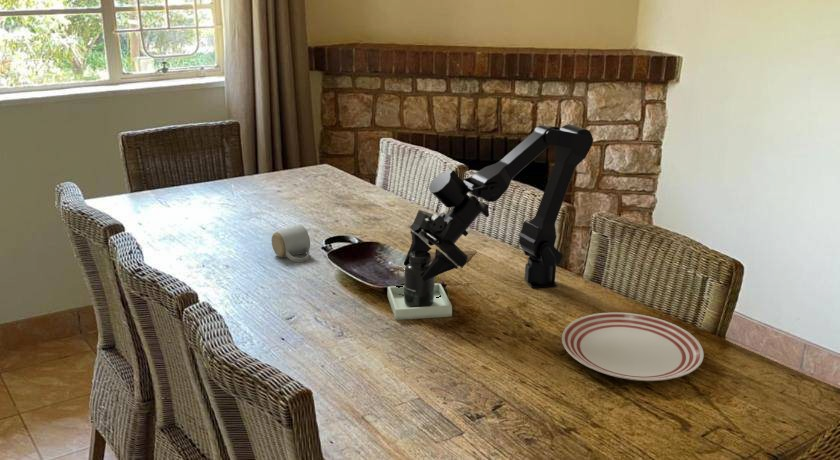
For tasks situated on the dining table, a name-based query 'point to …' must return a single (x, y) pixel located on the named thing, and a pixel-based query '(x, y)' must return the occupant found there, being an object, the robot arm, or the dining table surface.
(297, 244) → the ceramic mug
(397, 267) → the wooden fragment
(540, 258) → the robot arm
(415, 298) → the supplement bottle
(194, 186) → the dining table surface
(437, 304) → the tray
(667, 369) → the dinner plate
